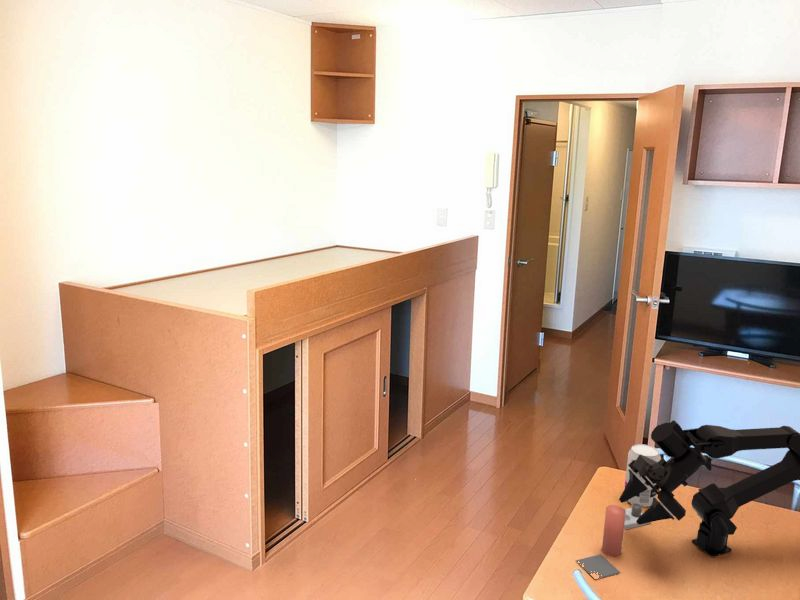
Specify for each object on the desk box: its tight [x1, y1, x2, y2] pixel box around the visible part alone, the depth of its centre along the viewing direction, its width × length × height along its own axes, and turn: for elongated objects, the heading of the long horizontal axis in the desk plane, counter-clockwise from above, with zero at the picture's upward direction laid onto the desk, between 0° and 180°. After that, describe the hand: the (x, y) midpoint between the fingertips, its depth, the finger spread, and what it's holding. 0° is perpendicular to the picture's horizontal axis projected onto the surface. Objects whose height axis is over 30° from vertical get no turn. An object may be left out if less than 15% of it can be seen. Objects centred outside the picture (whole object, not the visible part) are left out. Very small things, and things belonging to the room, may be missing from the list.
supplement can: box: [623, 443, 662, 508], centre depth 175 cm, size 8×8×15 cm
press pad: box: [575, 553, 621, 579], centre depth 148 cm, size 7×7×1 cm
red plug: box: [601, 504, 626, 558], centre depth 153 cm, size 4×4×11 cm
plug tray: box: [624, 504, 652, 530], centre depth 166 cm, size 8×6×4 cm
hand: (628, 511), depth 152 cm, fingers open, 9 cm apart
